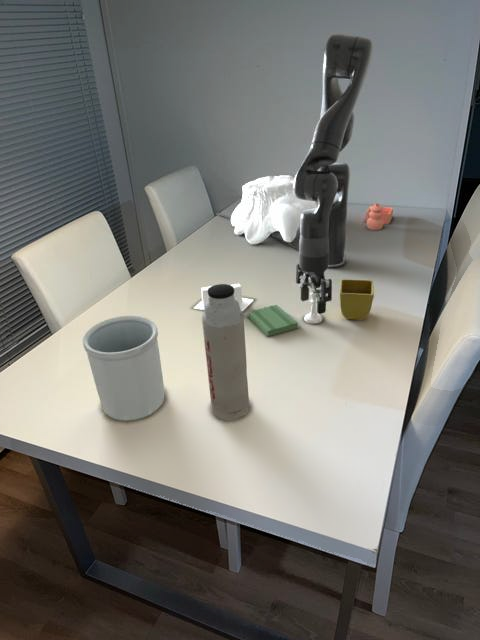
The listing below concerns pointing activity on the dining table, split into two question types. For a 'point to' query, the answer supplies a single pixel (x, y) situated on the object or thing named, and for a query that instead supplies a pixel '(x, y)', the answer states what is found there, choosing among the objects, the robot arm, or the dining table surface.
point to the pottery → (378, 216)
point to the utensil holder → (126, 366)
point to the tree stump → (269, 209)
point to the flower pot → (356, 298)
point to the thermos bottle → (225, 353)
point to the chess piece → (313, 312)
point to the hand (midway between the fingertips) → (312, 306)
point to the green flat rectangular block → (272, 320)
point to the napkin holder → (237, 296)
